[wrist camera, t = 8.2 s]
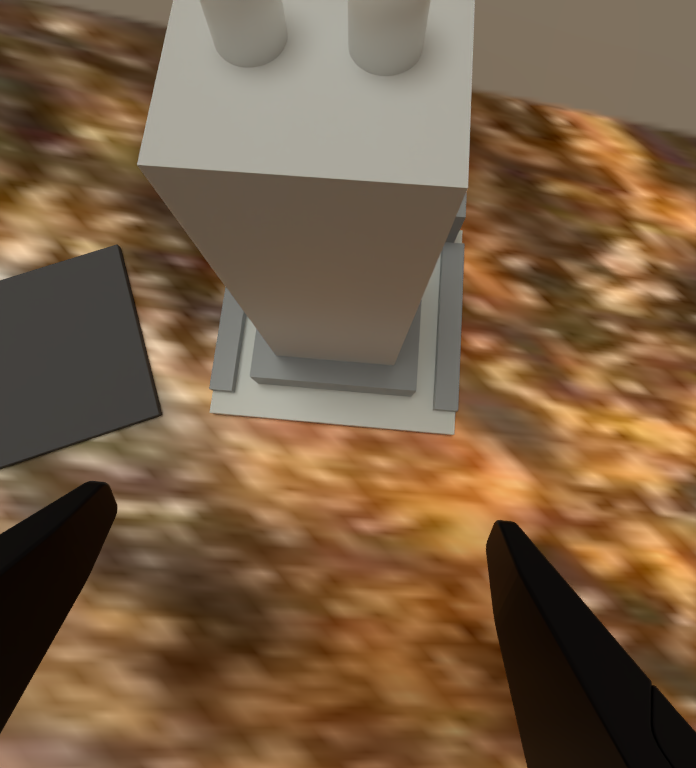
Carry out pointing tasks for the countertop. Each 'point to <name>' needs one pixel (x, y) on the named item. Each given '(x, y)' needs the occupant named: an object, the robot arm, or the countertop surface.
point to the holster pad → (70, 356)
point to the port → (415, 414)
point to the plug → (317, 171)
